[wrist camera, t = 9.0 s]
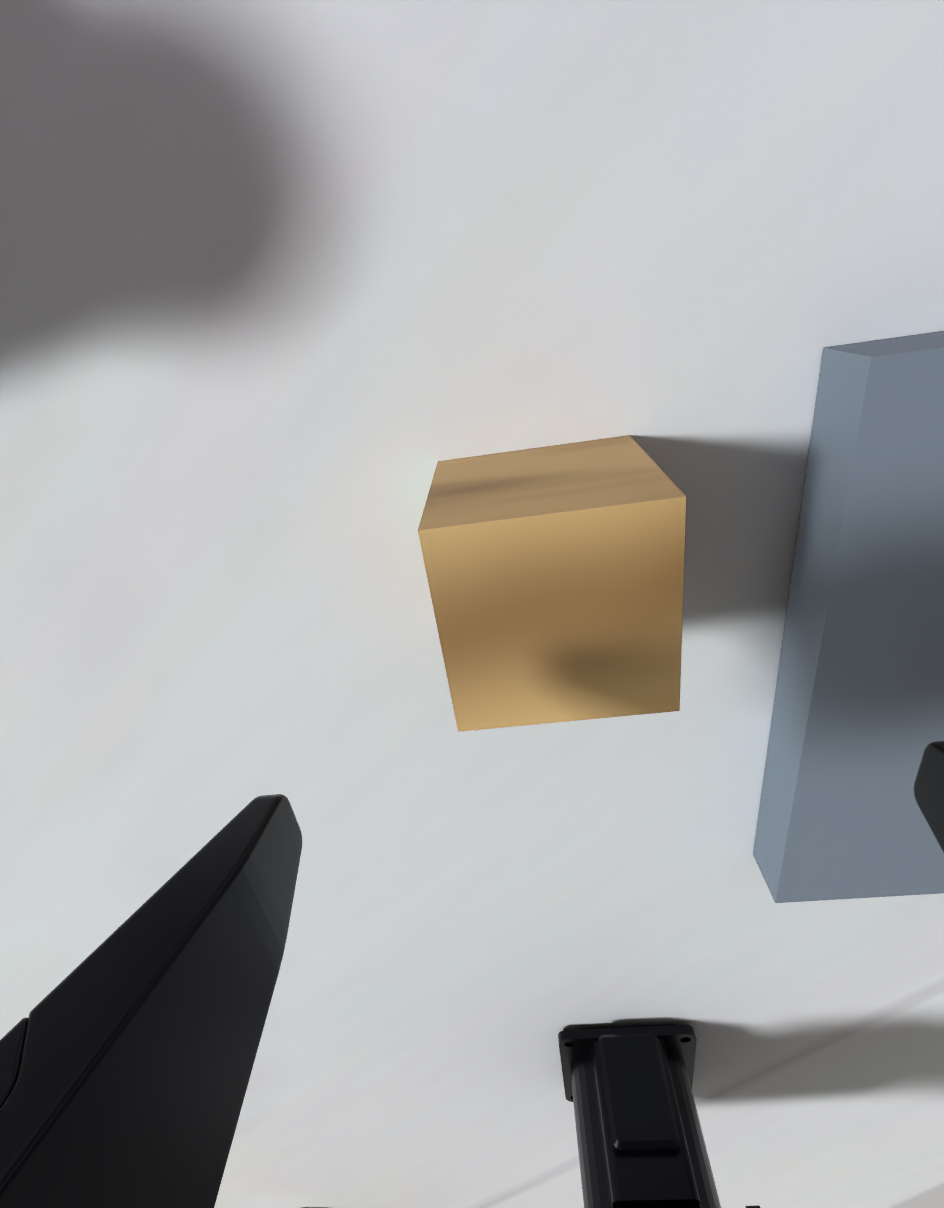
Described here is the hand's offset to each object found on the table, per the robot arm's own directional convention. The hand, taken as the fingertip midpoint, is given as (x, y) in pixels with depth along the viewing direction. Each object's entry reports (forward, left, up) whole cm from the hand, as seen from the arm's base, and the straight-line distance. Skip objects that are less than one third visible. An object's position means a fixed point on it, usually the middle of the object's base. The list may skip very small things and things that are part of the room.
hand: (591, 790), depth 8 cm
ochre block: (0, 0, -9) cm, 9 cm away
